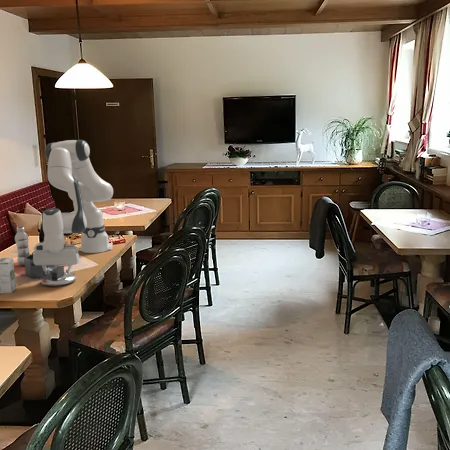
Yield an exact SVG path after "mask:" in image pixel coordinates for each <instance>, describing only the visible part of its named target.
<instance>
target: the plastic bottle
mask: <svg viewBox="0 0 450 450" xmlns="http://www.w3.org/2000/svg"><path fill="white" fill-rule="evenodd" d="M25 230H26V229H25V226H17V227H16V234H15V236H14V242H15V243H16V249H17V264H18V265H19V266H25V263H24V258H25V257H26V256H28V255H30V254H31V253H30V250H29V235H28V233H26V231H25Z"/></svg>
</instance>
